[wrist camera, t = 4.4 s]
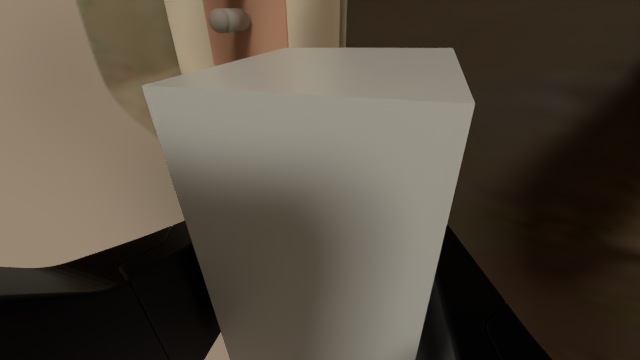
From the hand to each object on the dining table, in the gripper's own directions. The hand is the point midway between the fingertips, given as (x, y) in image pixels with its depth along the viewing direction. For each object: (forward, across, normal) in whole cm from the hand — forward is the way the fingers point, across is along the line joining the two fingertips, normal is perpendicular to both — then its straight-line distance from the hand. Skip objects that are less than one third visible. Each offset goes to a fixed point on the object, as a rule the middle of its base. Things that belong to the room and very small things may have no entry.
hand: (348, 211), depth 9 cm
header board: (+12, +9, -7) cm, 17 cm away
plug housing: (+1, 0, 0) cm, 1 cm away
